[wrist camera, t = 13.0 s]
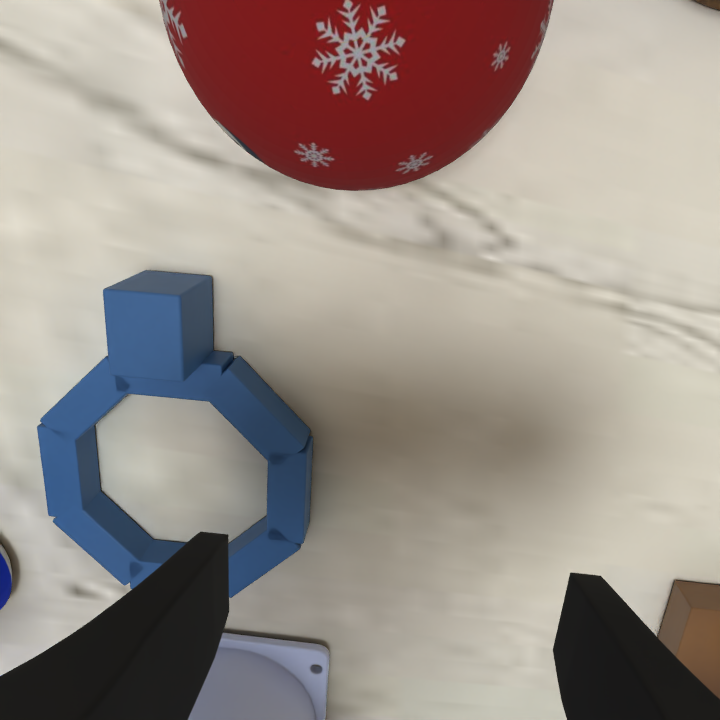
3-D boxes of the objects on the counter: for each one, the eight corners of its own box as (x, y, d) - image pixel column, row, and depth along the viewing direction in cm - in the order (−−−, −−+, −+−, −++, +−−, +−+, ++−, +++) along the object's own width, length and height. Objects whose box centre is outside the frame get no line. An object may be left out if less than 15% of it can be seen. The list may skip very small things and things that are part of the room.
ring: (306, 584, 24) (292, 641, 21) (75, 557, 25) (32, 610, 22) (320, 284, 20) (304, 306, 17) (41, 260, 21) (-18, 278, 18)
